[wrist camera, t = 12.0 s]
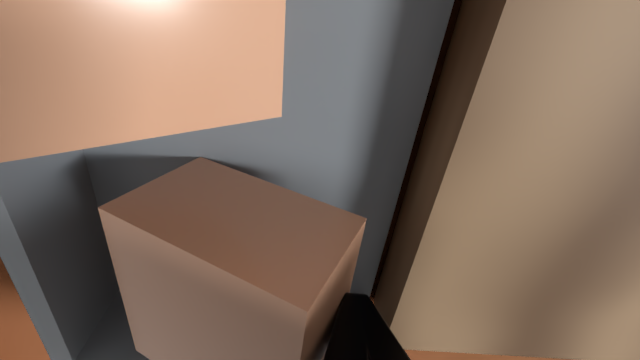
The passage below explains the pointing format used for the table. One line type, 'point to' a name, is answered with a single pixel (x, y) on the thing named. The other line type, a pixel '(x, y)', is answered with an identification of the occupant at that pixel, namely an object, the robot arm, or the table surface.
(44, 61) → the tile
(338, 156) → the tray
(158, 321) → the peach square block
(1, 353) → the table surface
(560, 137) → the board
